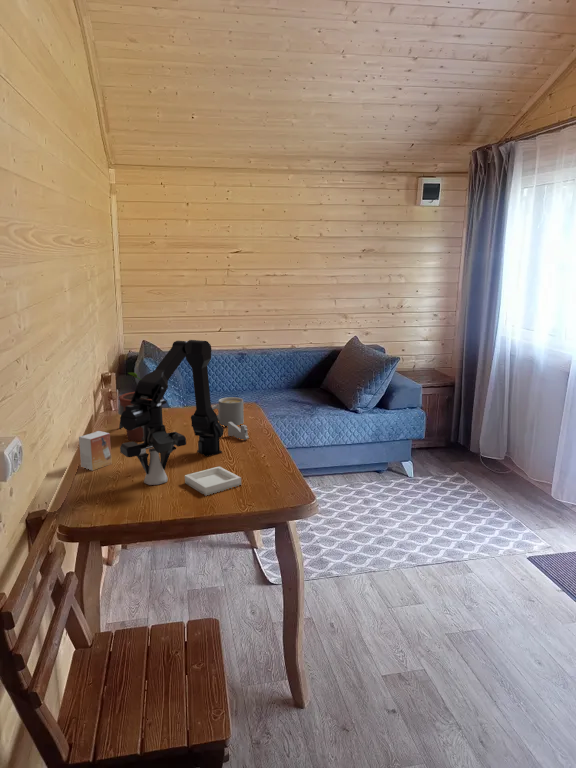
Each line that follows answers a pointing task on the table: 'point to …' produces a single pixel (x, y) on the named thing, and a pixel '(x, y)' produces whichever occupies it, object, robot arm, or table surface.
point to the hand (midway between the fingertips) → (155, 471)
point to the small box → (95, 450)
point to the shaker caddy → (212, 480)
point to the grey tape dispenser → (237, 431)
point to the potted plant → (124, 401)
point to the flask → (155, 470)
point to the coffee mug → (230, 411)
